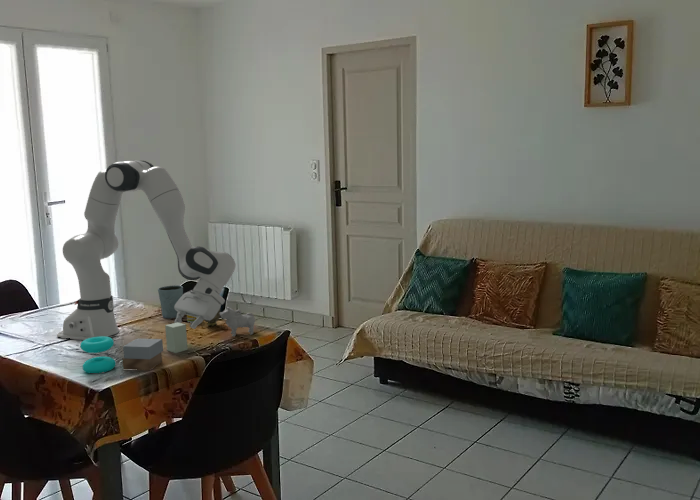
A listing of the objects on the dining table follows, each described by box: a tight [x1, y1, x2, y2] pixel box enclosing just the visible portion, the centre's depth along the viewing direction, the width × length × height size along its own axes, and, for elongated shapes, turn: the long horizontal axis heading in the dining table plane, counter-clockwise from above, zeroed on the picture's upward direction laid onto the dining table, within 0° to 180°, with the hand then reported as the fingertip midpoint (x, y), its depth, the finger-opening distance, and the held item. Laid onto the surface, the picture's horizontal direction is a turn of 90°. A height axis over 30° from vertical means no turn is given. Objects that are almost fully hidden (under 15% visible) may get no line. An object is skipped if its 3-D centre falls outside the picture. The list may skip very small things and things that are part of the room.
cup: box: [203, 308, 221, 327], centre depth 272 cm, size 8×7×8 cm
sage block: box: [164, 322, 189, 354], centre depth 241 cm, size 5×5×9 cm
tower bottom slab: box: [122, 352, 163, 371], centre depth 226 cm, size 9×9×4 cm
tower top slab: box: [122, 337, 164, 359], centre depth 225 cm, size 9×9×4 cm
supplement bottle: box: [186, 315, 197, 324], centre depth 280 cm, size 5×5×10 cm
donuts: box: [80, 336, 116, 374], centre depth 223 cm, size 10×10×10 cm
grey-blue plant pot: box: [157, 284, 184, 319], centre depth 290 cm, size 10×10×12 cm
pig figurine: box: [219, 306, 256, 337], centre depth 259 cm, size 5×13×11 cm, turn 105°
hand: (184, 325), depth 243 cm, fingers open, 8 cm apart
